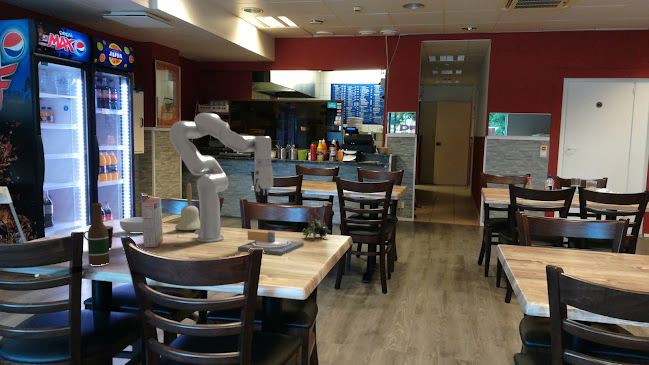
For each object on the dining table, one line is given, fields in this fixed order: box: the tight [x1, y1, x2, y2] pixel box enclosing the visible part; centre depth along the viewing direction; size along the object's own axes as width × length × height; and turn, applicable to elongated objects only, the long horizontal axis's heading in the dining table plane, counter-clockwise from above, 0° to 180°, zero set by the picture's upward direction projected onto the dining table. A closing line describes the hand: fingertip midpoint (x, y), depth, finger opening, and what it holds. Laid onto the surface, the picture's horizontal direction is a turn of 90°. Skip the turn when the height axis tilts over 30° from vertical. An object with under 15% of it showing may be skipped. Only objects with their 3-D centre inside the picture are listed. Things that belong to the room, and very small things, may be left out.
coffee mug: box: [83, 225, 114, 248], centre depth 218 cm, size 12×9×10 cm
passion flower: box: [301, 219, 332, 240], centre depth 243 cm, size 11×11×12 cm
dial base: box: [237, 239, 305, 256], centre depth 222 cm, size 22×20×2 cm
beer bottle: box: [87, 202, 110, 265], centre depth 193 cm, size 8×8×24 cm
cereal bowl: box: [119, 216, 143, 233], centre depth 257 cm, size 17×17×7 cm
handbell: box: [174, 183, 200, 231], centre depth 263 cm, size 15×15×25 cm
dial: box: [247, 230, 287, 247], centre depth 223 cm, size 19×14×5 cm
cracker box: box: [141, 197, 164, 248], centre depth 229 cm, size 14×6×21 cm, turn 6°
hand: (263, 203), depth 228 cm, fingers closed
